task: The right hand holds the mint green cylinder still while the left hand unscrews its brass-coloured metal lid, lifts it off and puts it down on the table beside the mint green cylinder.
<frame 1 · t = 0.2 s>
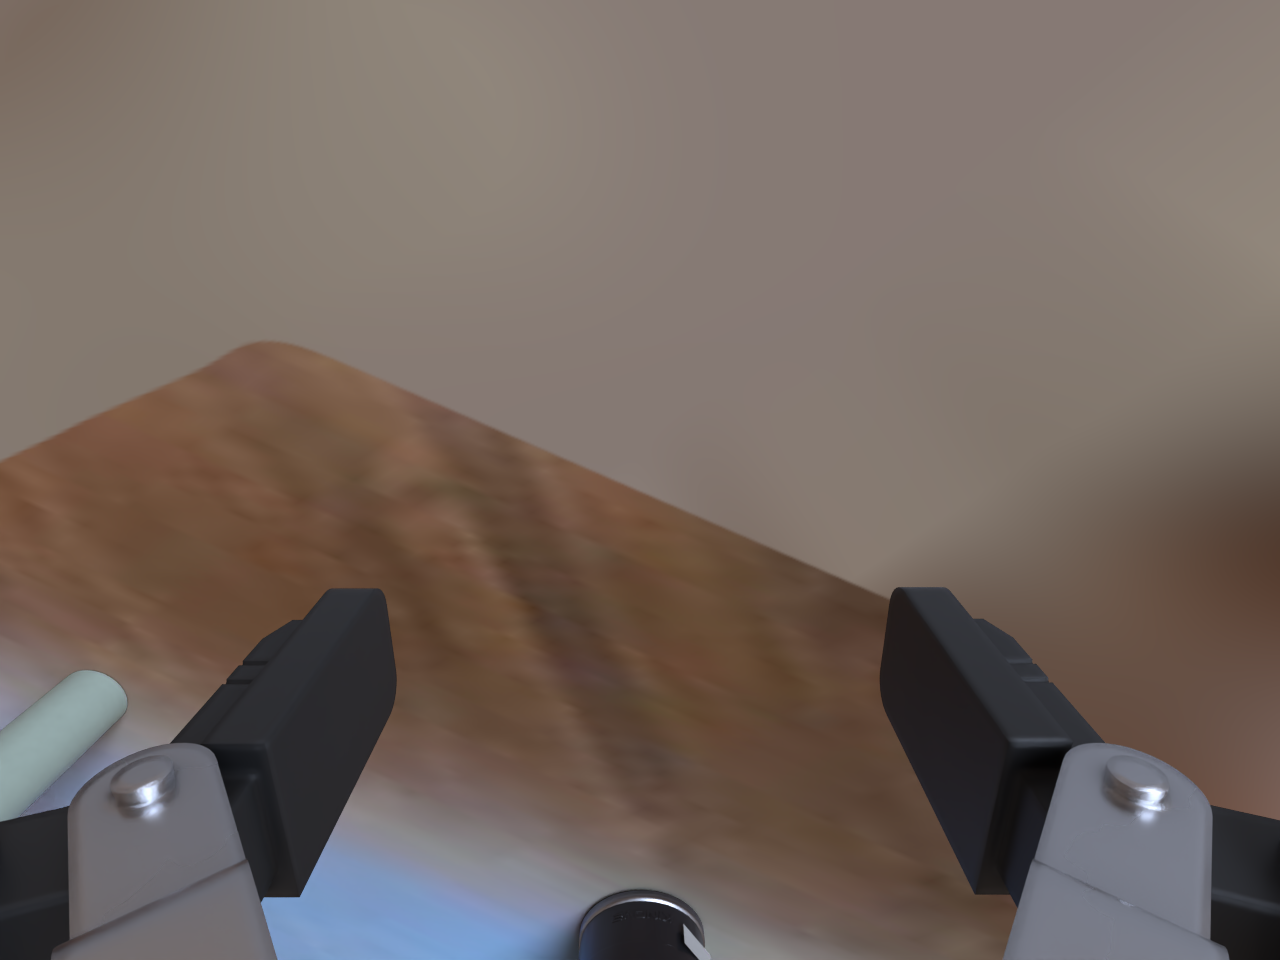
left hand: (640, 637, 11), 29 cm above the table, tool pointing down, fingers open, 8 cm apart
mint green cylinder: (95, 696, 47), on the table
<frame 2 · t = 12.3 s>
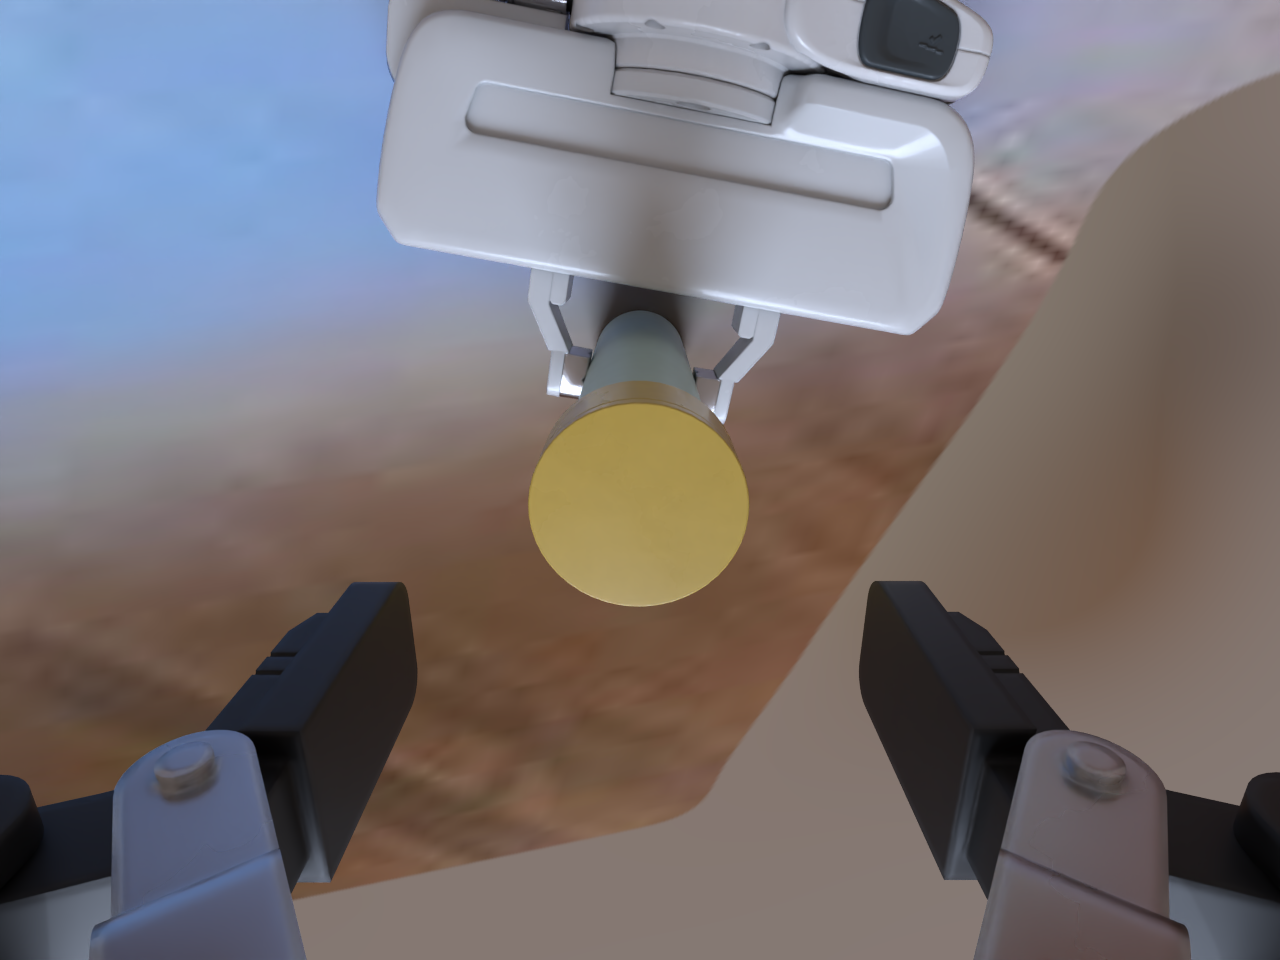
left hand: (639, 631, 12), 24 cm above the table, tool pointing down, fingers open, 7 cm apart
right hand: (636, 406, 28), fingers closed on mint green cylinder, 4 cm apart
lid: (638, 504, 17), point 18 cm above the table, screwed on, not yet turned
mint green cylinder: (639, 355, 34), on the table, touching right hand
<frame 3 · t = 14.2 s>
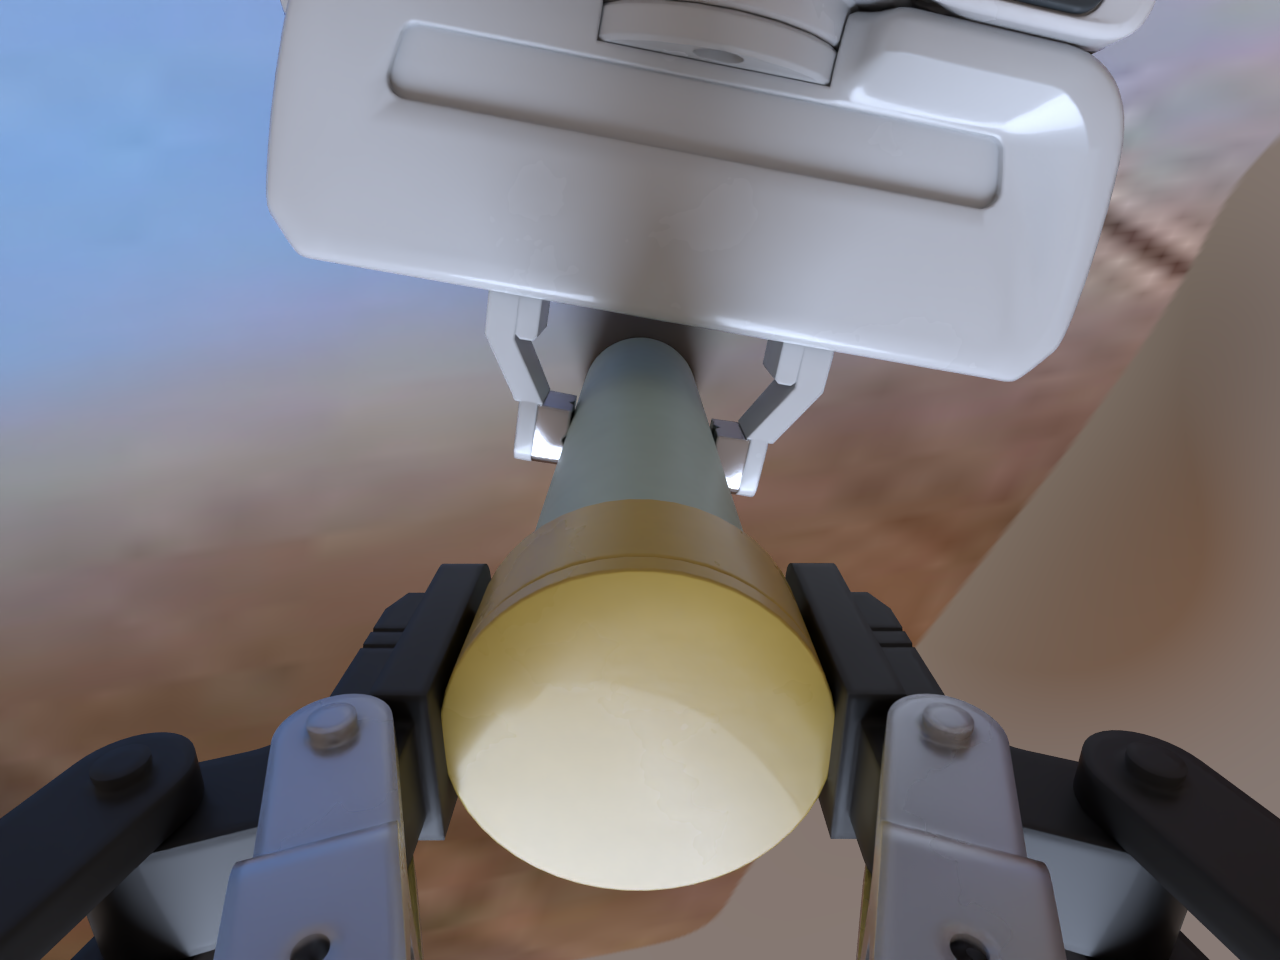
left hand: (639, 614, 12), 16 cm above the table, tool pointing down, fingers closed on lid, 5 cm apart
right hand: (635, 472, 21), fingers closed on mint green cylinder, 4 cm apart
lid: (638, 727, 9), point 18 cm above the table, screwed on, not yet turned, touching left hand
mint green cylinder: (639, 393, 27), on the table, touching right hand
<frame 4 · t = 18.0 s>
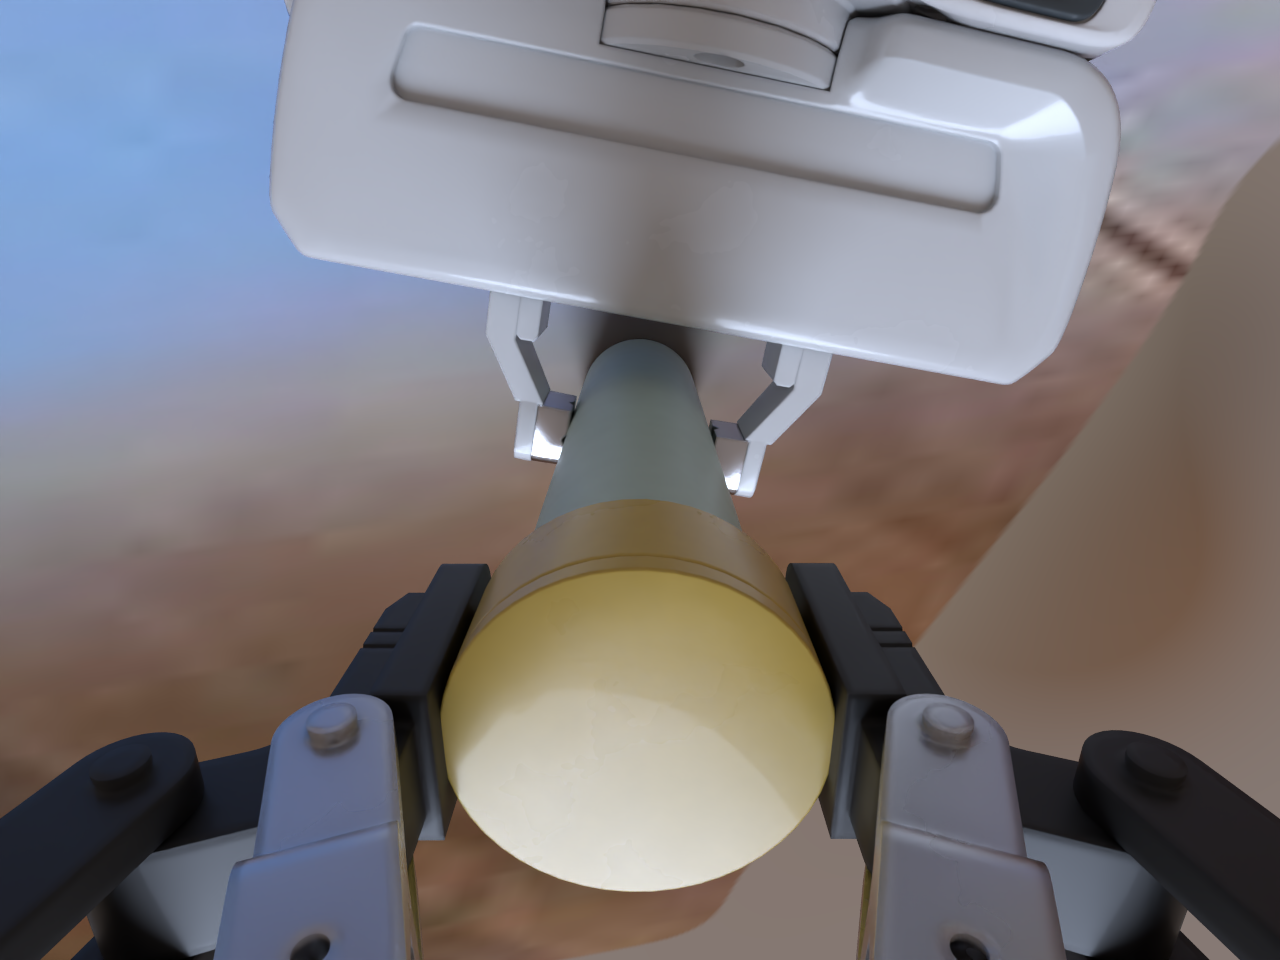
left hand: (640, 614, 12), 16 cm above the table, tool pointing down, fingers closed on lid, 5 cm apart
right hand: (634, 472, 21), fingers closed on mint green cylinder, 4 cm apart
lid: (637, 727, 9), point 19 cm above the table, turned 92° so far, risen 0.1 cm, still on its thread, touching left hand
mint green cylinder: (639, 394, 27), on the table, touching right hand
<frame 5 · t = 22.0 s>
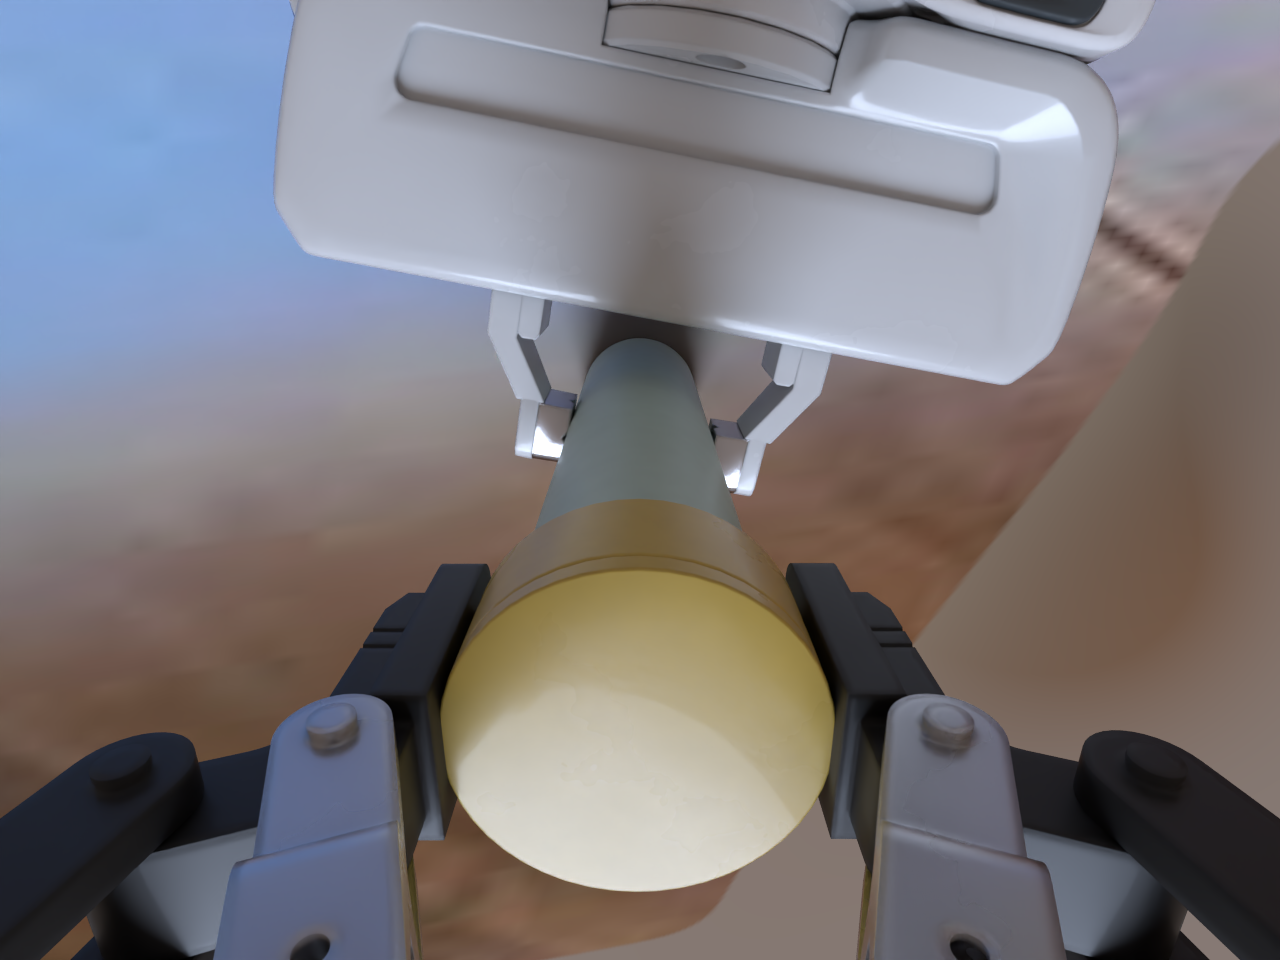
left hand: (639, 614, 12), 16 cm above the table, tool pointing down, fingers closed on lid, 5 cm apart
right hand: (634, 470, 22), fingers closed on mint green cylinder, 4 cm apart
lid: (637, 727, 9), point 19 cm above the table, turned 184° so far, risen 0.3 cm, still on its thread, touching left hand
mint green cylinder: (639, 393, 27), on the table, touching right hand
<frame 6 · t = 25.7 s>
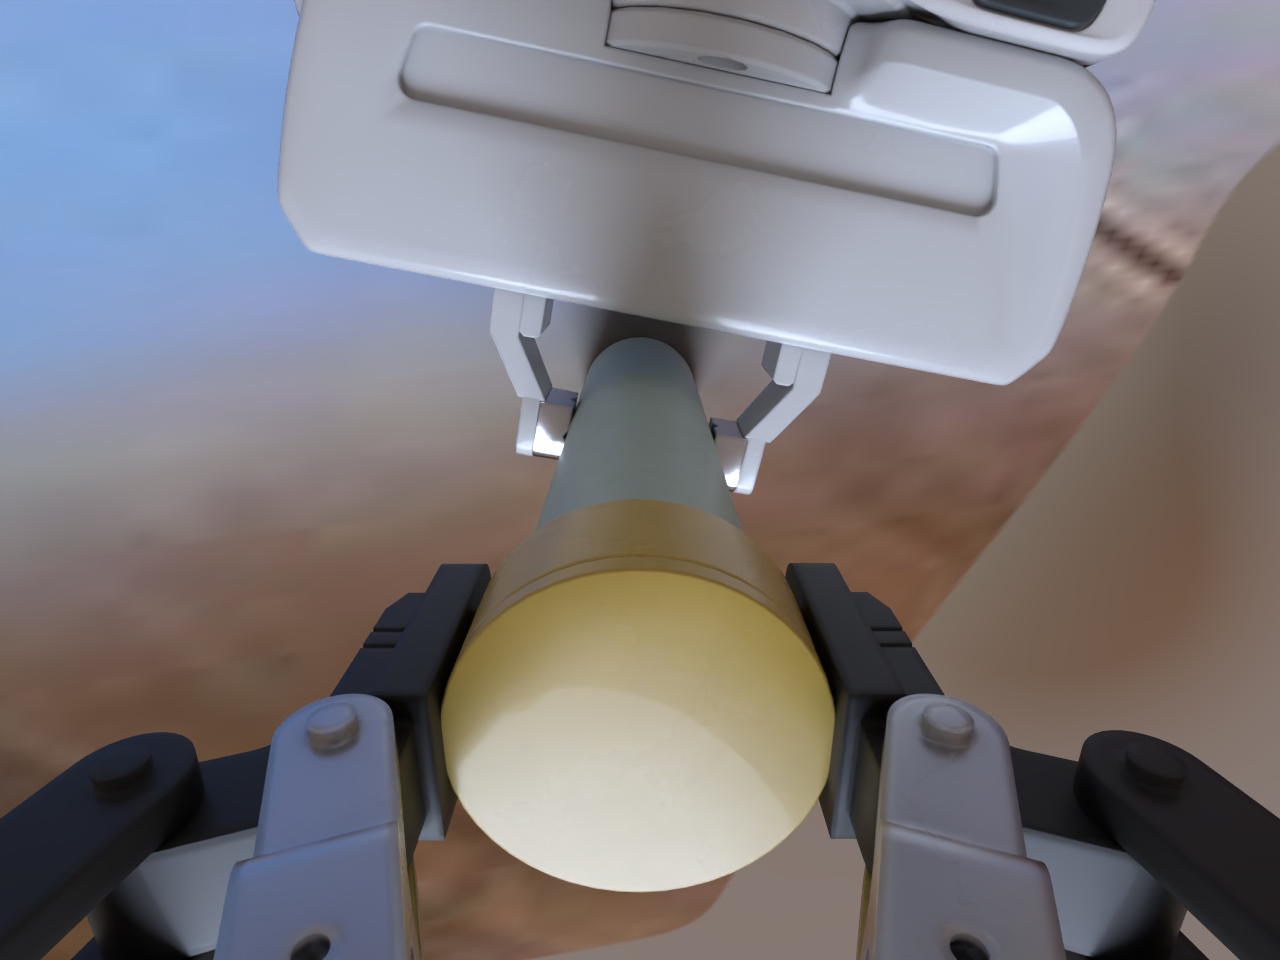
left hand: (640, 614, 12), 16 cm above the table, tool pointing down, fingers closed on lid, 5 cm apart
right hand: (635, 469, 22), fingers closed on mint green cylinder, 4 cm apart
lid: (638, 728, 9), point 19 cm above the table, turned 276° so far, risen 0.4 cm, still on its thread, touching left hand
mint green cylinder: (639, 392, 27), on the table, touching right hand
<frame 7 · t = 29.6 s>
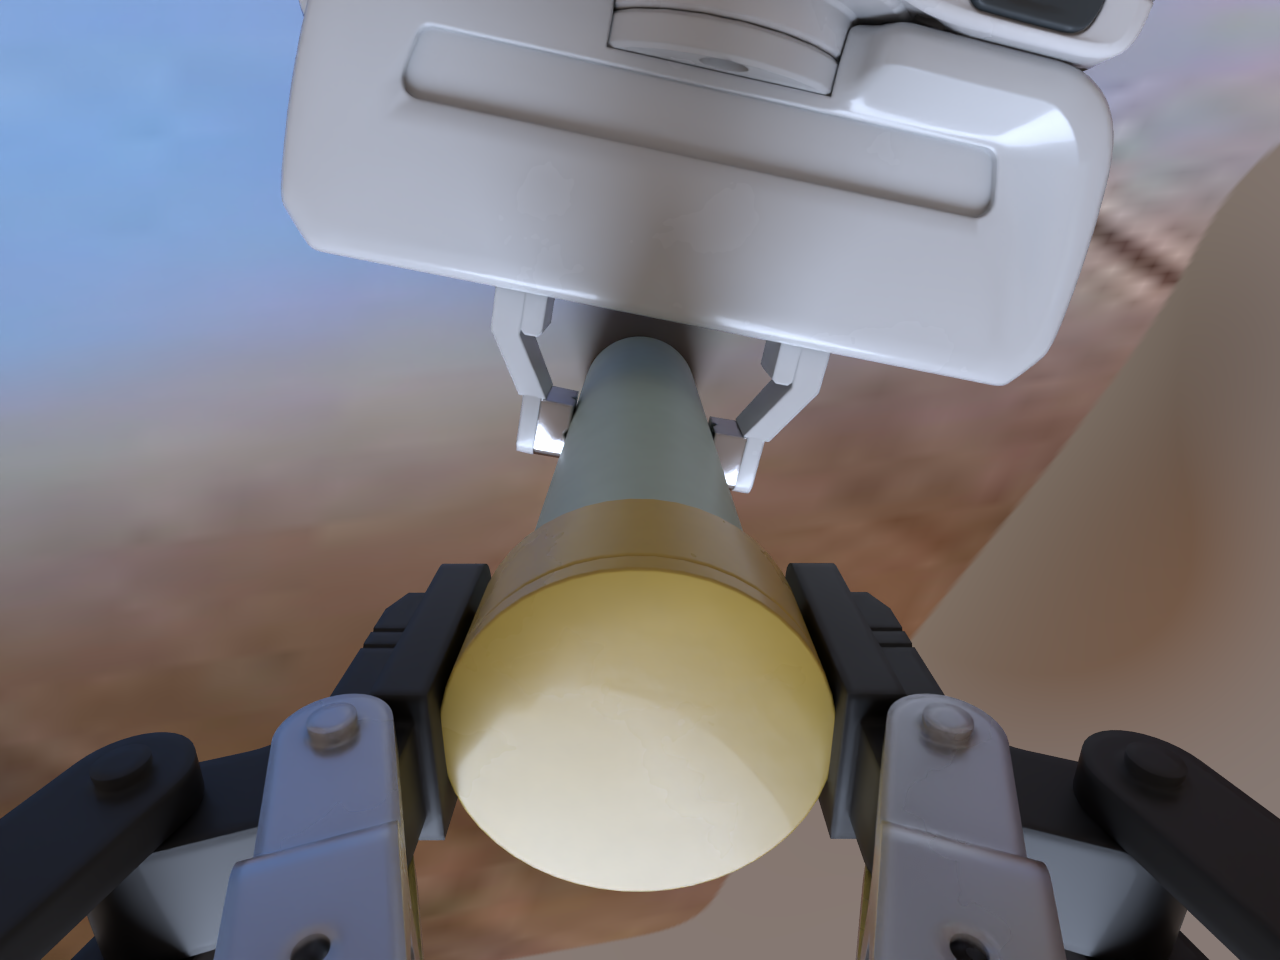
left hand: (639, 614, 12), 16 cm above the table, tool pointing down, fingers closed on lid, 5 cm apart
right hand: (634, 467, 22), fingers closed on mint green cylinder, 4 cm apart
lid: (638, 727, 9), point 19 cm above the table, turned 368° so far, risen 0.5 cm, still on its thread, touching left hand
mint green cylinder: (639, 391, 27), on the table, touching right hand
when the left hand's fingers open (0 cm above the table, at t = 37.7 s): lid drops 1 cm, point 2 cm above the table.
when the right hand's fingers open (6 cm above the table, at t = 38.7 s): mint green cylinder stays where it is, on the table.
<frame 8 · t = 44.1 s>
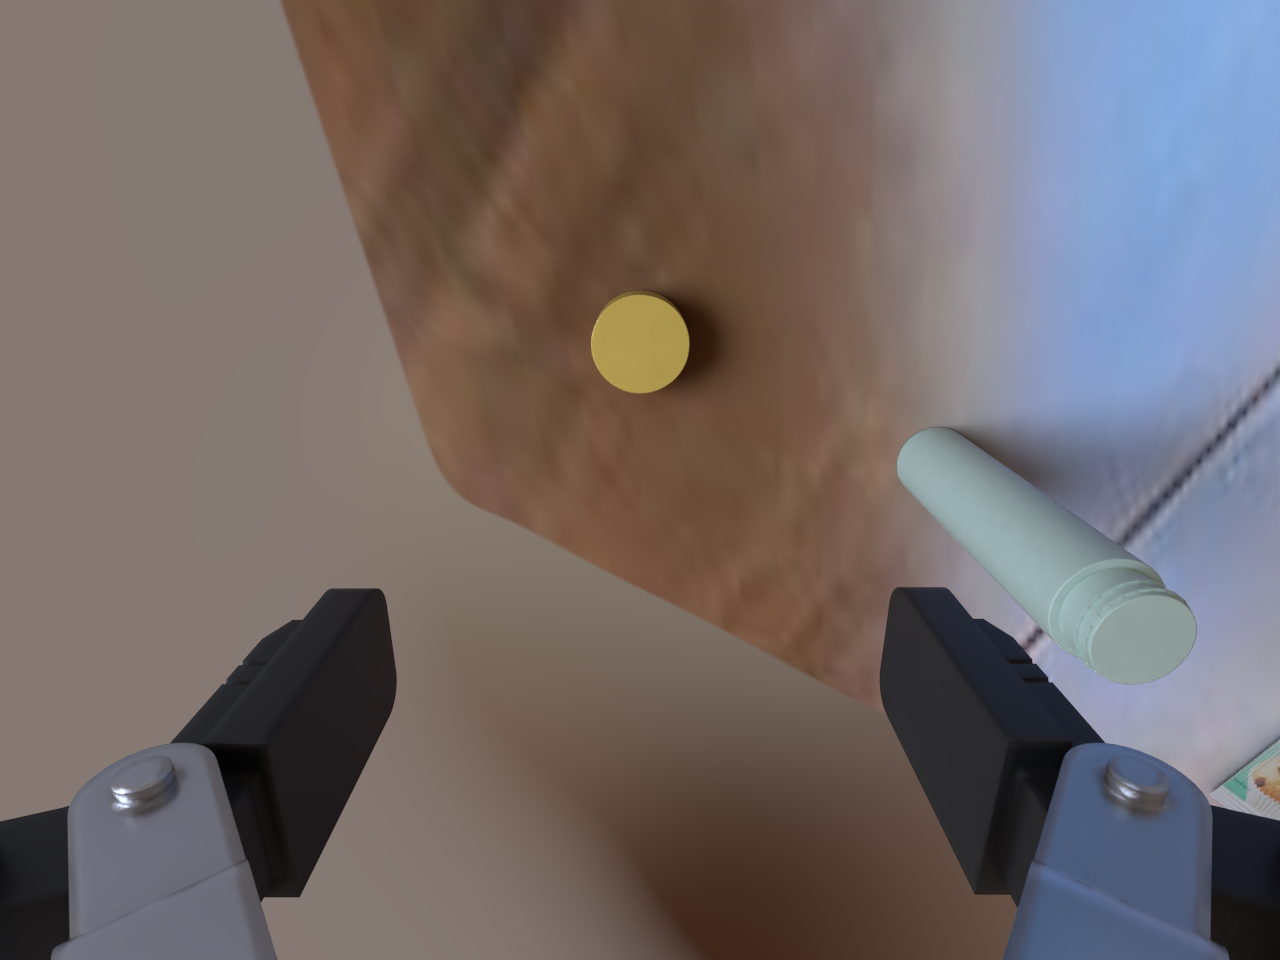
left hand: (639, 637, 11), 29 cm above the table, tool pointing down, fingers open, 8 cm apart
lid: (640, 344, 37), point 2 cm above the table, off its thread
mint green cylinder: (933, 461, 41), on the table
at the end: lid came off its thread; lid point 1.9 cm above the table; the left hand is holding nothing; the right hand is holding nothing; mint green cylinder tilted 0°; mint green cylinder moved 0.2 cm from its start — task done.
